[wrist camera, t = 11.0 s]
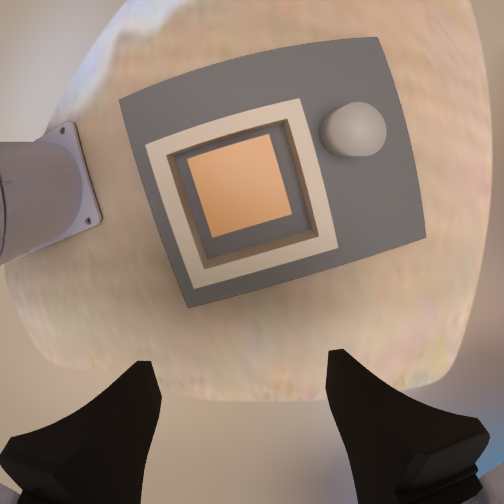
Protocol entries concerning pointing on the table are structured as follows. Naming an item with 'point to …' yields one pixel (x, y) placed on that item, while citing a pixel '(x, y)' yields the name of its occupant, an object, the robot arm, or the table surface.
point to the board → (281, 163)
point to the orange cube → (240, 185)
